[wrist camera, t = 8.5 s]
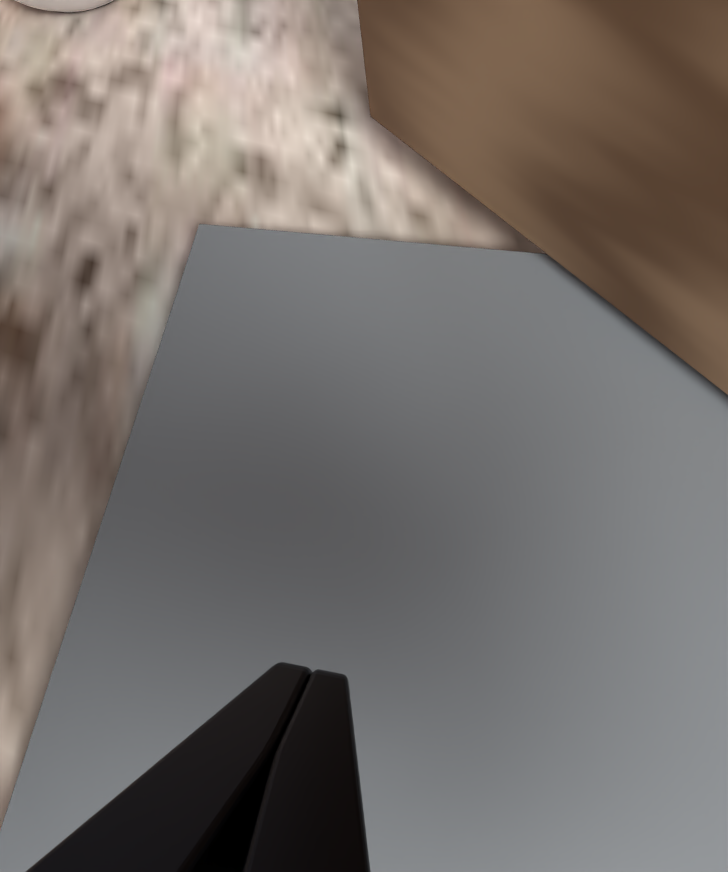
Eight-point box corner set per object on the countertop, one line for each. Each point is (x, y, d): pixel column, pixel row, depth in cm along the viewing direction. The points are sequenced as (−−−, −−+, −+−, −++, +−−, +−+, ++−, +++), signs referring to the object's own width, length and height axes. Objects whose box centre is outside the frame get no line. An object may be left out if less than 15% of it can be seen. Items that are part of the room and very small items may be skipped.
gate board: (-35, 1023, 13) (-72, 1049, 12) (211, 247, 19) (199, 223, 18) (1760, 1589, 8) (1924, 1700, 7) (1318, 349, 14) (1379, 326, 14)
